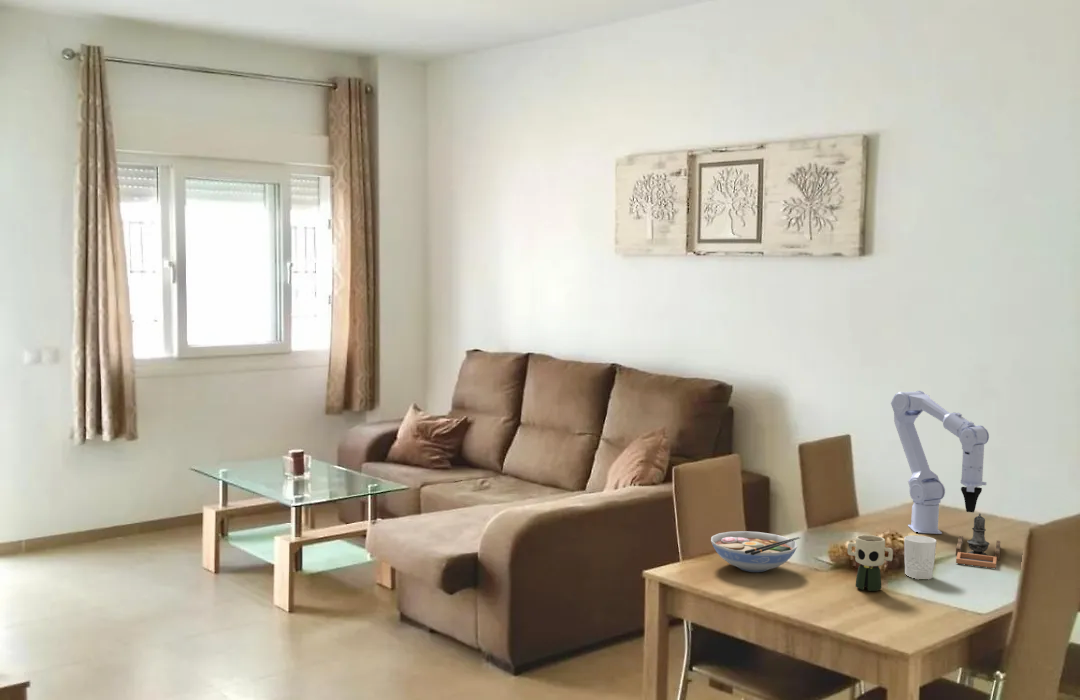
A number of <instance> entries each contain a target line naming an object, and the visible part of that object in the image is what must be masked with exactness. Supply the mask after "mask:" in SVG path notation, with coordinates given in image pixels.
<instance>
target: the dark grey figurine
mask: <svg viewBox="0 0 1080 700" xmlns="http://www.w3.org/2000/svg"><path fill="white" fill-rule="evenodd" d="M985 523H986V518H984V517H983V516H982V514H981V513H978V516H975V517H973V527H972V528H971V529H972V538H971V539H968V540H967V541H966V542H967V543H968V548H969V549H970V551H969V552H967V553H971V554H979V555H987V556H989V555H988V553H986V551H987V550H988V548H989V545H990V543H989V542H988V541H986V537H985V534H986V533H985V532H986V531H987V529H986V527H985V526H986V525H985Z"/></svg>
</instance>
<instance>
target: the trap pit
mask: <svg viewBox="0 0 1080 700" xmlns="http://www.w3.org/2000/svg"><path fill="white" fill-rule="evenodd" d="M987 555H988V554H987ZM987 555H979V554H971V553H968V552H958V554H957V555H956V558H955V559H956V560H955V564H956V563H958V564H957V565H960V564H965V565H964V566H968V565H973V566H972V567H975V566H980V567H979V568H983V567H987V568H986V569H991V568H995V569H994V570H997V561H998V560H997V557H995V555H988V556H987Z"/></svg>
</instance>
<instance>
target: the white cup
mask: <svg viewBox="0 0 1080 700" xmlns="http://www.w3.org/2000/svg"><path fill="white" fill-rule="evenodd" d="M903 540H904V543H903V544H904V553H903V554H904V575H905V574H906V575H907V576H909V577H912V578H911V579H913V578H915V579H914V580H919V579H928V580H931V579H932V578H933V574H934V573H933V572H934V567H935V560H936V549H937V539H935V538H933V537H932V536H931V537H930V536H925V535H918V534H915V535H906V536H904V539H903ZM906 575H905V576H906ZM907 576H906V577H907ZM909 577H908V578H909Z"/></svg>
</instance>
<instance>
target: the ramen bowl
mask: <svg viewBox="0 0 1080 700" xmlns="http://www.w3.org/2000/svg"><path fill="white" fill-rule="evenodd" d="M796 540H800V537H799V536H797V537H793V538H789V537H786V536H783V535H778V534H775V533H767V532H763V531H762V532H760V531H747V530H746V531H745V530H743V531H737V530H736V531H726V532H719V533H716V534H714V535H712V536H711V537H710V543H711V545H712V547H713V549H714V550H715V552H716V553H717V554H718V555H719V557H720V558H721V559H723V560H724V561H725V562H727V564H730V565H731V566H734V567H735V568H736V567H737V568H738V569H740V570H742V571H744V572H749V573H763V572H766V571H768V570H772V569H777V568H779V567H780V566H781V565H784V564H785V563H787V562H788V560H790V559H791V557H792V556H793V555H794V554H795V552H796V550H797V548H798V542H796Z"/></svg>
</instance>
